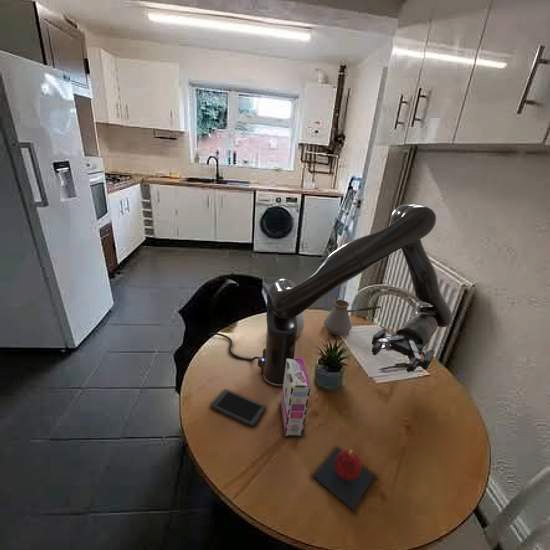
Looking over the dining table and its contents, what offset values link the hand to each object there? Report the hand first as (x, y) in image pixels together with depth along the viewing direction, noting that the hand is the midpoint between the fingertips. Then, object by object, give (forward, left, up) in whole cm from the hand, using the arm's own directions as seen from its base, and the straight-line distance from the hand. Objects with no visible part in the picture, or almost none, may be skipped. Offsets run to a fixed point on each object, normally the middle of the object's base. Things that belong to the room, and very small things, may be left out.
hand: (390, 360), depth 74 cm
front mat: (+1, -16, -24) cm, 29 cm away
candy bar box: (-18, -12, -24) cm, 32 cm away
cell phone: (-31, -20, -24) cm, 44 cm away
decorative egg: (-46, +20, -24) cm, 56 cm away
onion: (+1, -16, -24) cm, 29 cm away
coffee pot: (-29, +40, -24) cm, 55 cm away
